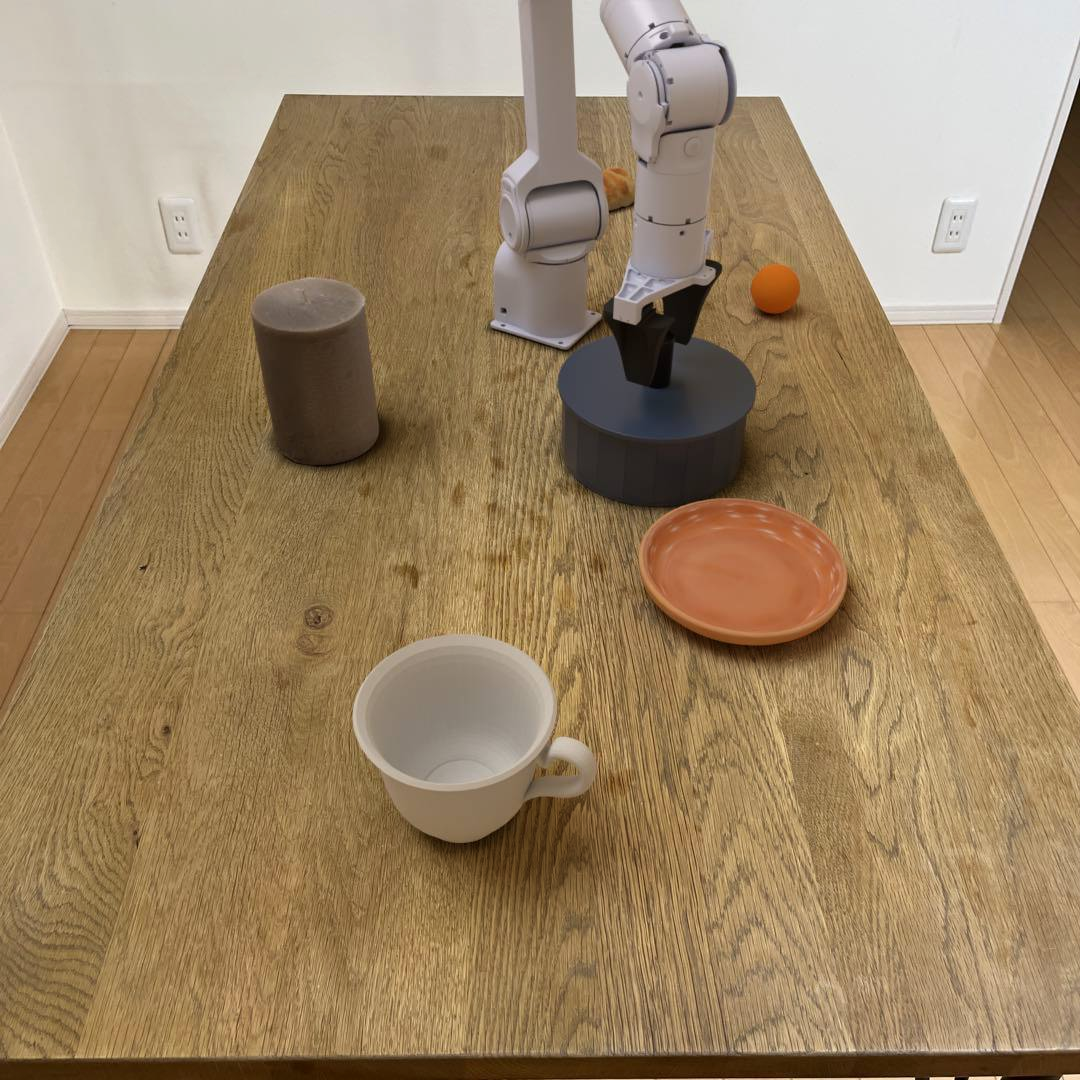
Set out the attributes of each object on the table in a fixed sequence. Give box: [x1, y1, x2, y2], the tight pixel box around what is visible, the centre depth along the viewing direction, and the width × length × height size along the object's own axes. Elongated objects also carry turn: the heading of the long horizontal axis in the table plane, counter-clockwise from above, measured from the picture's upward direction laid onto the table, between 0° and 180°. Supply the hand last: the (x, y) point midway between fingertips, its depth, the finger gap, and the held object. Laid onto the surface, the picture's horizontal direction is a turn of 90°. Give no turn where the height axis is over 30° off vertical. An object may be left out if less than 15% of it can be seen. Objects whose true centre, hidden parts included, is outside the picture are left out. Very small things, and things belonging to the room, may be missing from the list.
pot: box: [560, 400, 748, 508], centre depth 99 cm, size 16×16×7 cm
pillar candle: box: [250, 276, 380, 466], centre depth 98 cm, size 10×10×15 cm
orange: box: [750, 263, 801, 315], centre depth 119 cm, size 5×5×5 cm
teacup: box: [351, 633, 597, 844], centre depth 68 cm, size 12×15×10 cm
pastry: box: [601, 165, 636, 211], centre depth 140 cm, size 9×7×4 cm
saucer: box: [638, 497, 848, 646], centre depth 86 cm, size 16×16×3 cm
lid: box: [557, 331, 757, 444], centre depth 95 cm, size 17×17×6 cm
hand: (658, 360), depth 95 cm, fingers open, 7 cm apart
